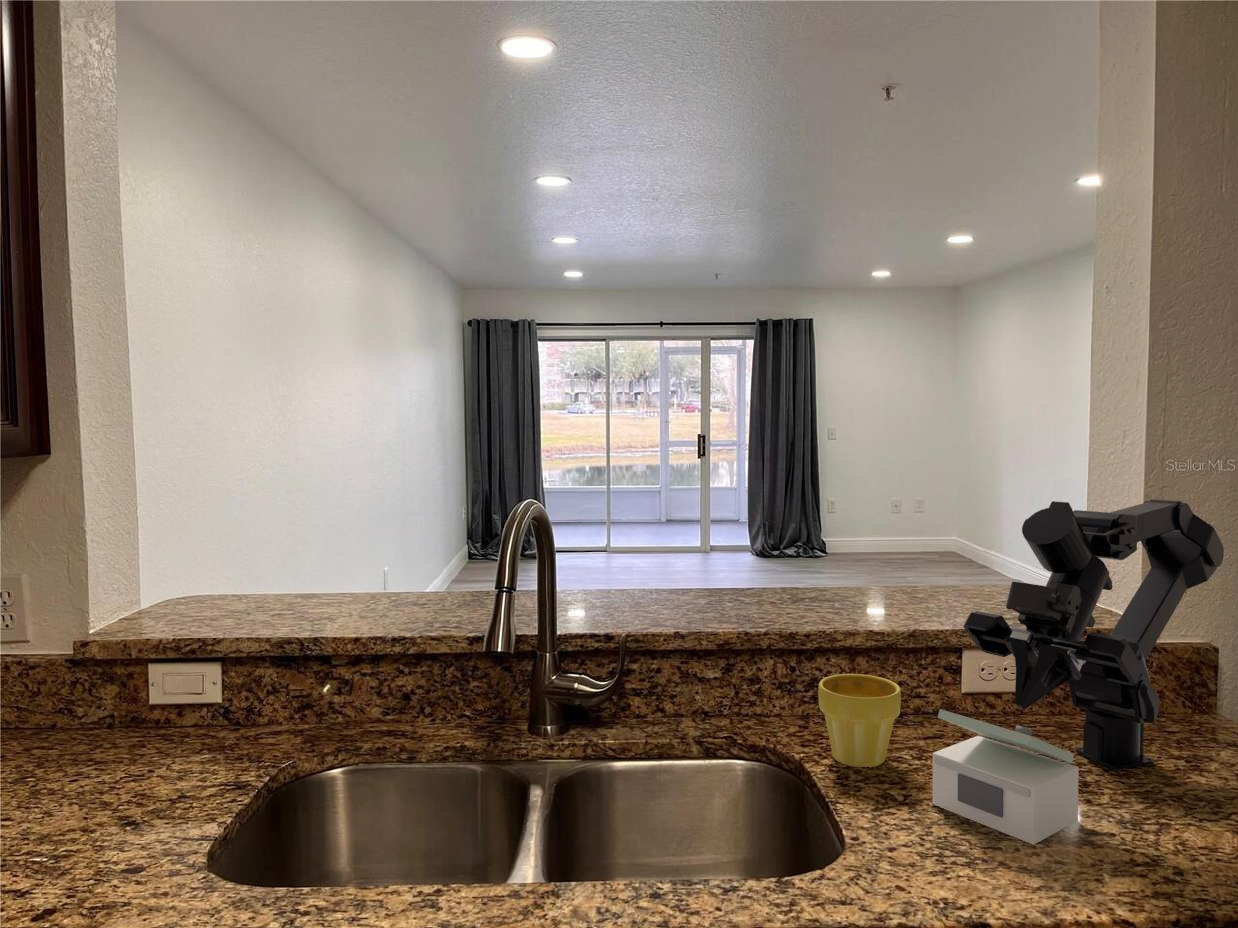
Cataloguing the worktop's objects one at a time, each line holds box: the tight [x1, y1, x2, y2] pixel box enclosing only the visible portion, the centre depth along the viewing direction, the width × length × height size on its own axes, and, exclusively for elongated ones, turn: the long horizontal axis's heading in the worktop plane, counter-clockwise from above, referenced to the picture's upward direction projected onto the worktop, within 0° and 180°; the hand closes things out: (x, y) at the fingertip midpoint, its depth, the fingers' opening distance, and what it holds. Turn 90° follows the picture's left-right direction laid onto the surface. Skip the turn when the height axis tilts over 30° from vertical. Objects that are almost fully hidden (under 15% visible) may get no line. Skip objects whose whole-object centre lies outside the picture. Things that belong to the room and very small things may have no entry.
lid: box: [937, 708, 1075, 764], centre depth 97 cm, size 10×11×2 cm
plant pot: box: [818, 673, 902, 768], centre depth 113 cm, size 10×10×10 cm
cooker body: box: [932, 735, 1079, 846], centre depth 97 cm, size 9×12×6 cm
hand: (1019, 706), depth 99 cm, fingers closed
